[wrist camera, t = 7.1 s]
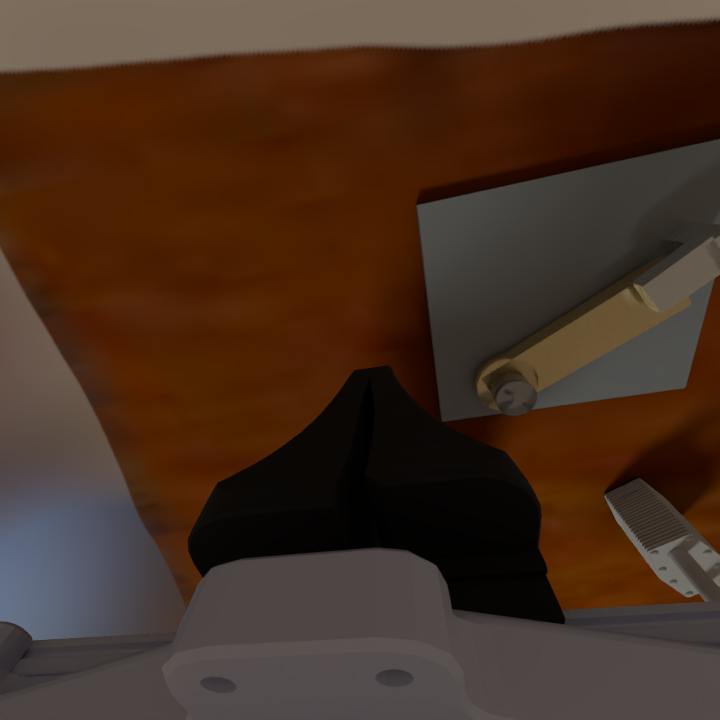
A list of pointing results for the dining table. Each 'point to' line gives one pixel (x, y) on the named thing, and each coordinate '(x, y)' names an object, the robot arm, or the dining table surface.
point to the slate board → (562, 271)
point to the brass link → (576, 337)
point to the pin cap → (513, 394)
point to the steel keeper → (682, 266)
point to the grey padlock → (666, 540)
